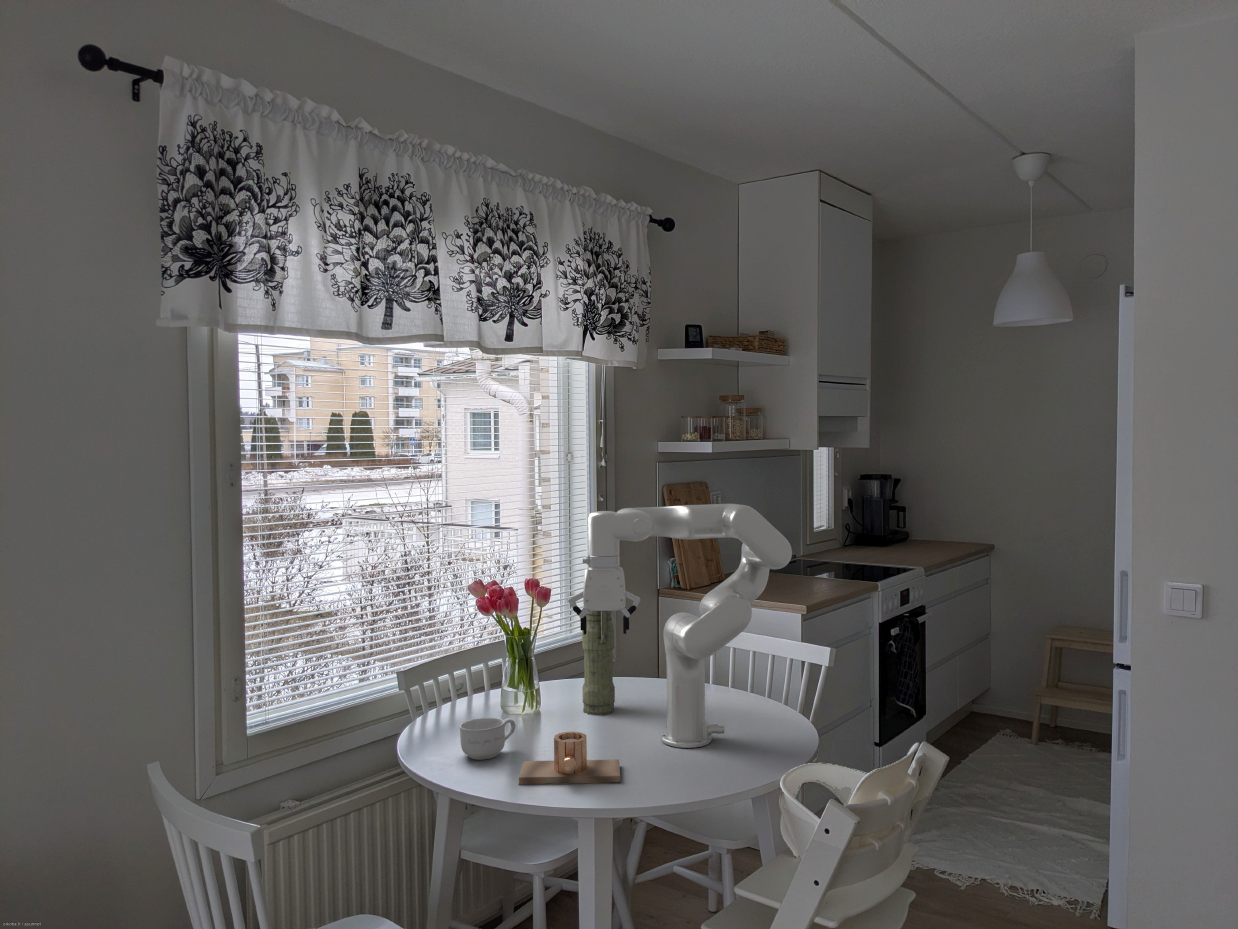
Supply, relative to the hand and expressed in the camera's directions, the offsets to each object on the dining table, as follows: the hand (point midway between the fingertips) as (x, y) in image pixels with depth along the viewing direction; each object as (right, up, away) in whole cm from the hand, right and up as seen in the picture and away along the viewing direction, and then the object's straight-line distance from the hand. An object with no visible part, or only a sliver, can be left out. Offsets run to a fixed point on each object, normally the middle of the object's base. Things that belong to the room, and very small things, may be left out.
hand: (604, 633), depth 208 cm
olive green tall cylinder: (-2, -28, +32) cm, 43 cm away
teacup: (-28, -29, -2) cm, 40 cm away
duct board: (-7, -29, -16) cm, 33 cm away
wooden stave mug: (-7, -27, -18) cm, 33 cm away
